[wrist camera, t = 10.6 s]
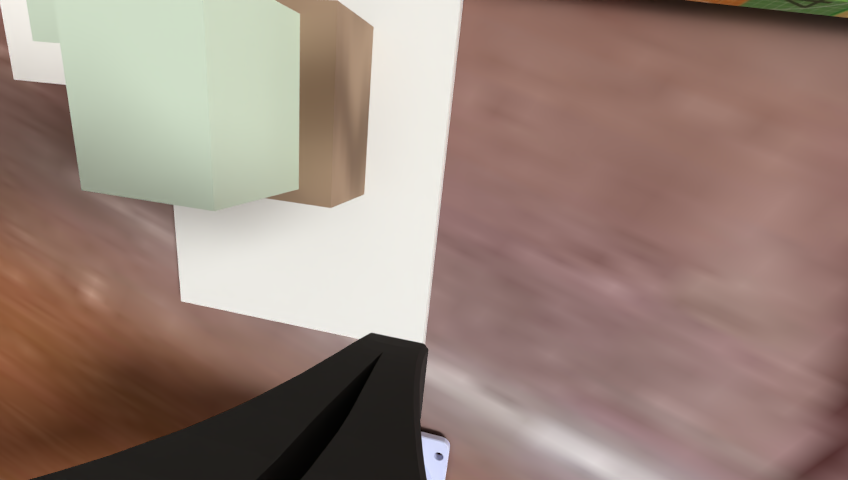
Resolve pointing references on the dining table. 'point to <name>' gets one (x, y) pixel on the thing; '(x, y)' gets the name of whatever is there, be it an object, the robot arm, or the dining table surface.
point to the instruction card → (33, 40)
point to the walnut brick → (331, 103)
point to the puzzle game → (792, 5)
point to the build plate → (348, 204)
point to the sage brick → (183, 98)
